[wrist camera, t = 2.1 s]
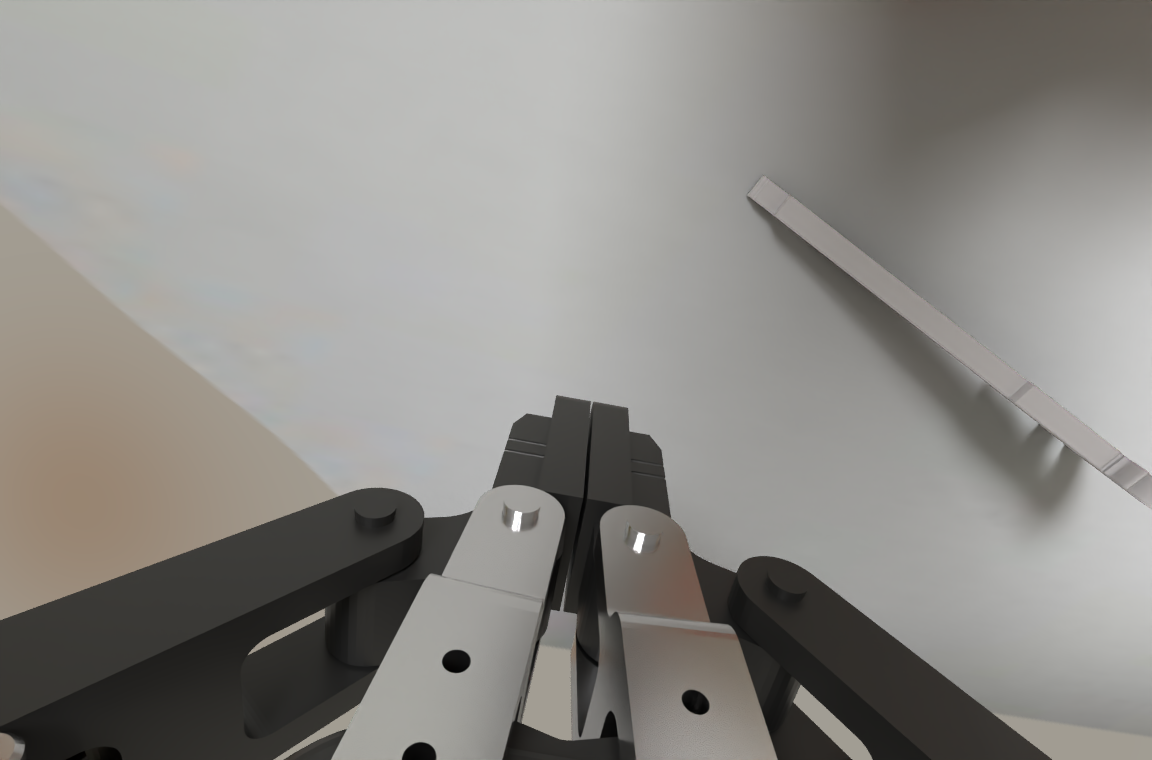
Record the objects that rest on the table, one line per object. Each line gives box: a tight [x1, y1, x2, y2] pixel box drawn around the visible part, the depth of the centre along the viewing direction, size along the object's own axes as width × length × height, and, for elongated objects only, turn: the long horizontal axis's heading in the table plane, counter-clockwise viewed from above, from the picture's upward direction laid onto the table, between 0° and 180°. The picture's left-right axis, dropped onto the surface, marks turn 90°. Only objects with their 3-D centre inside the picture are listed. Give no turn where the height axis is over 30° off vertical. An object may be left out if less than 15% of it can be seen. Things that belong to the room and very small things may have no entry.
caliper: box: [747, 175, 1152, 509], centre depth 25 cm, size 20×1×6 cm, turn 55°
